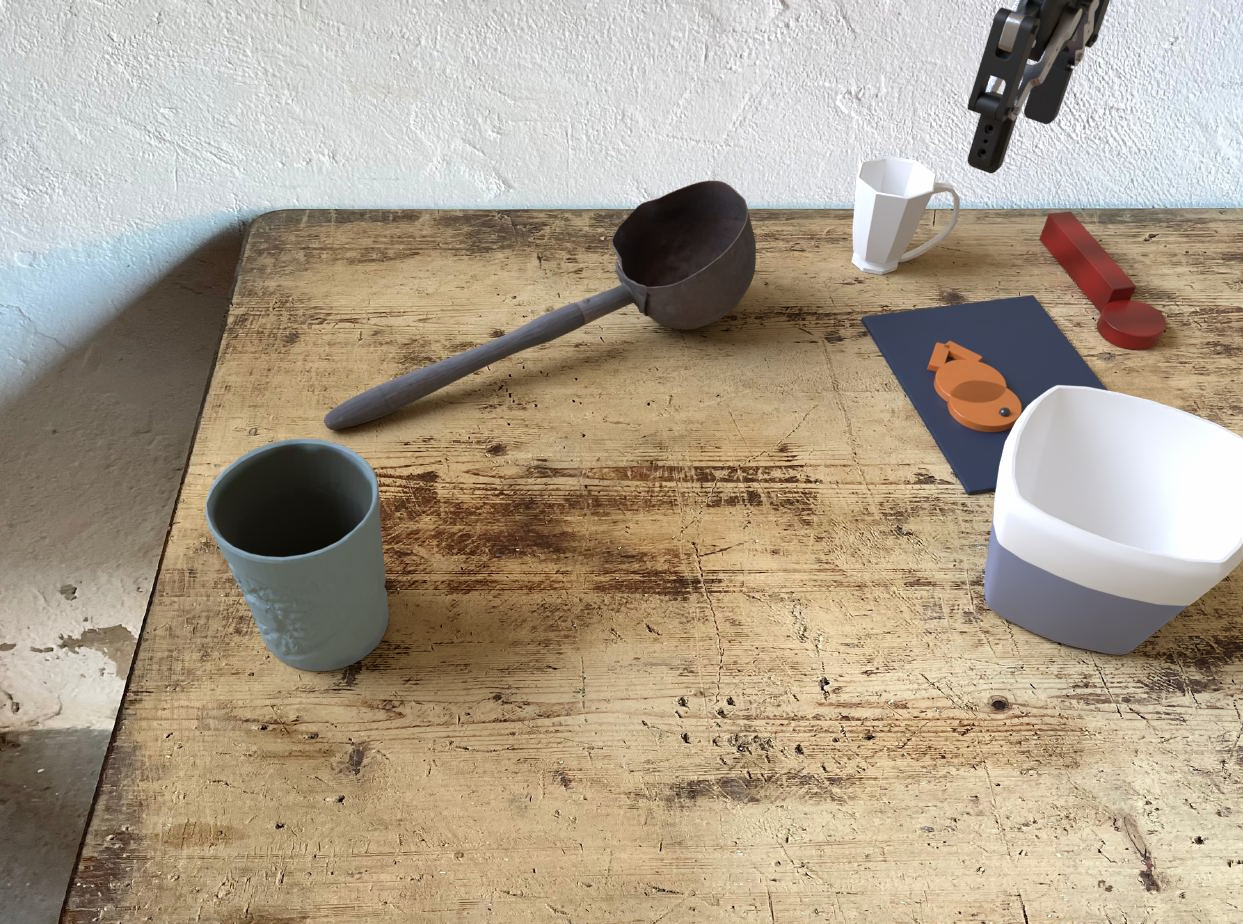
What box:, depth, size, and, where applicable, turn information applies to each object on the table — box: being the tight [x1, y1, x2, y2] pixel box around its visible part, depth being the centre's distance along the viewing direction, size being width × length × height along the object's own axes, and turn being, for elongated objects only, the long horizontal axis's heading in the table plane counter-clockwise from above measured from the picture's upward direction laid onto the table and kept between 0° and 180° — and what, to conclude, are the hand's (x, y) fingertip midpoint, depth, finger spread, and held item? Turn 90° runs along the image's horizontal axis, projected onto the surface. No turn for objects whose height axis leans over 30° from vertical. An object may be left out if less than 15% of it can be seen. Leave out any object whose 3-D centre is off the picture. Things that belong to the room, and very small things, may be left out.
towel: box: [860, 294, 1109, 496], centre depth 91 cm, size 16×22×1 cm
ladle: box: [323, 180, 757, 431], centre depth 92 cm, size 12×38×10 cm, turn 119°
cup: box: [851, 155, 961, 276], centre depth 99 cm, size 7×10×8 cm
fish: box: [927, 341, 1022, 432], centre depth 90 cm, size 11×6×1 cm, turn 12°
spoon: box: [1039, 210, 1167, 351], centre depth 98 cm, size 17×5×3 cm, turn 12°
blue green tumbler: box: [205, 438, 390, 672], centre depth 71 cm, size 10×10×12 cm
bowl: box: [983, 385, 1243, 655], centre depth 74 cm, size 15×15×11 cm
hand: (1011, 142), depth 78 cm, fingers open, 8 cm apart
